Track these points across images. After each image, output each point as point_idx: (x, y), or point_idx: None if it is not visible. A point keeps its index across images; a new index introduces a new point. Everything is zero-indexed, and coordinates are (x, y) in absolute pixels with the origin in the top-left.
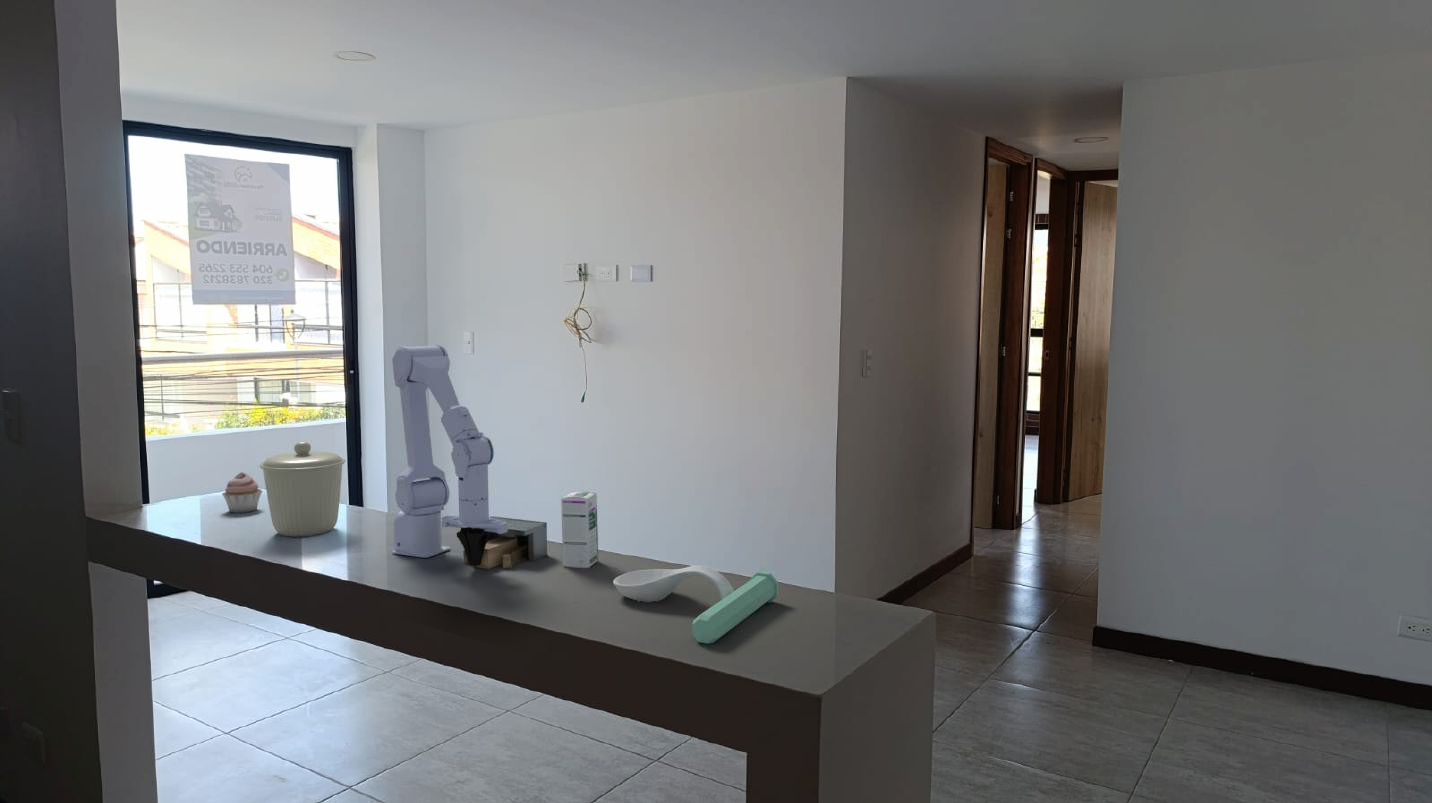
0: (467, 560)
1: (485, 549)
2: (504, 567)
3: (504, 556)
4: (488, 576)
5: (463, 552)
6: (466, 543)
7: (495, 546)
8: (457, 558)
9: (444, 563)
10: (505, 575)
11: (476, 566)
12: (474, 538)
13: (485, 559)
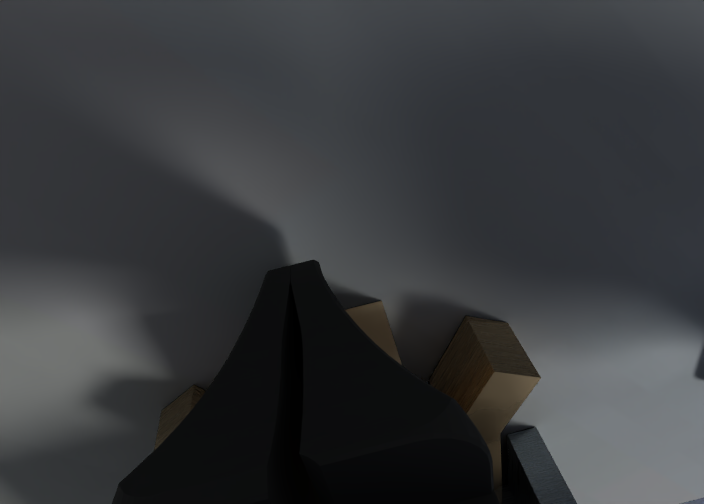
0: (469, 331)
1: None
2: (187, 393)
3: None
4: (81, 245)
5: (531, 364)
6: (317, 381)
7: None
8: (581, 332)
9: (591, 236)
10: (23, 324)
11: (348, 311)
12: (146, 477)
13: None
